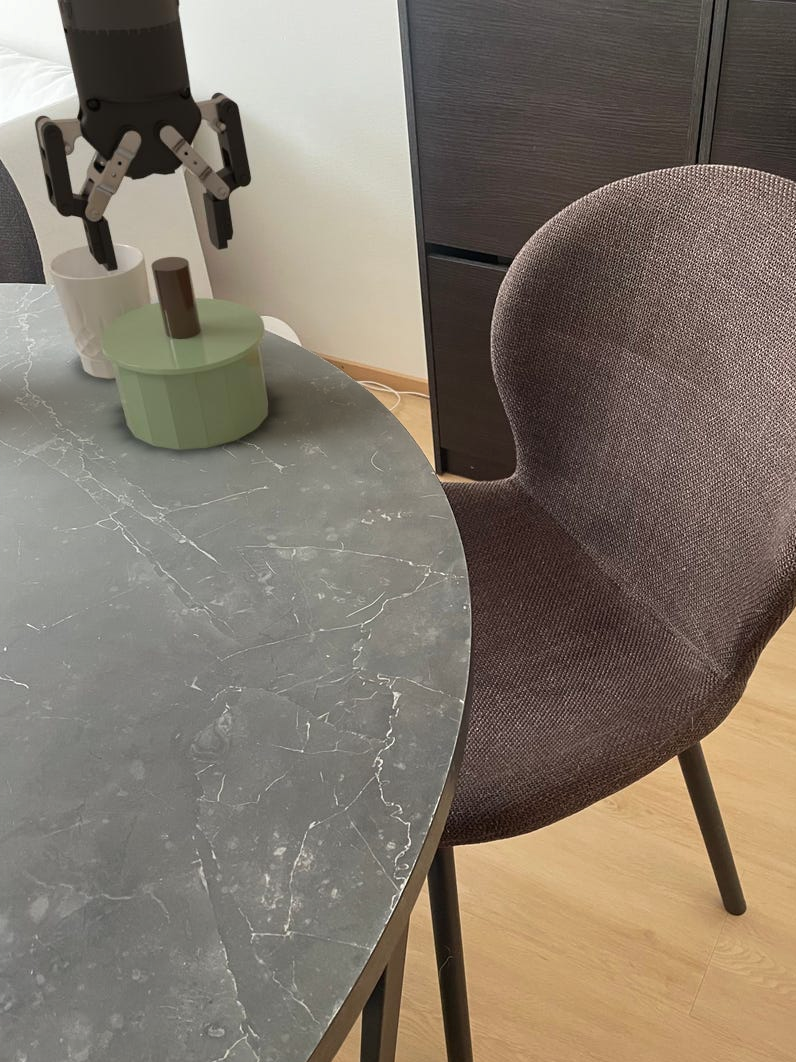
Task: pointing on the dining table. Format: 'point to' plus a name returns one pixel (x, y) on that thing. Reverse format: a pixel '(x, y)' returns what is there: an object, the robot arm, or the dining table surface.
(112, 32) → the robot arm
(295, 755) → the dining table surface
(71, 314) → the white cup
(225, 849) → the dining table surface
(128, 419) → the pot
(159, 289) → the lid
